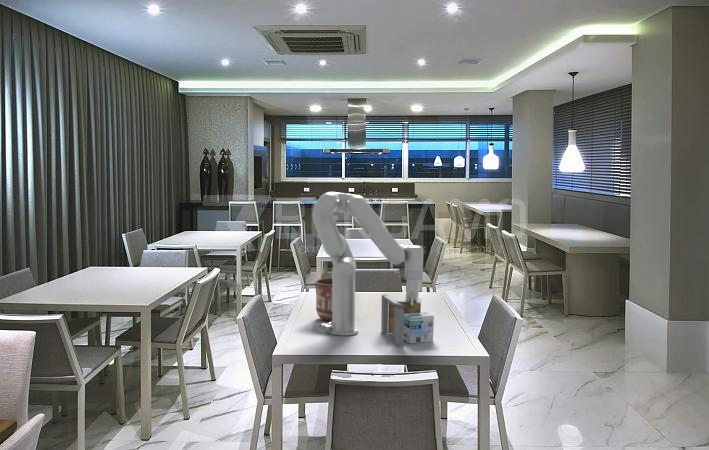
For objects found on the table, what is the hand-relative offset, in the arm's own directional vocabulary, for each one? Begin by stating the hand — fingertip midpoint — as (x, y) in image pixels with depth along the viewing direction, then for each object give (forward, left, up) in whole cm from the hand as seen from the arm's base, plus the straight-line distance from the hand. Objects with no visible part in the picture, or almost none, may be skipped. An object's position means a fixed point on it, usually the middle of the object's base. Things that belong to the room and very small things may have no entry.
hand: (412, 317), depth 257 cm
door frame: (-11, -5, -7) cm, 13 cm away
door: (-4, -2, -6) cm, 8 cm away
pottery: (-27, +32, -7) cm, 42 cm away
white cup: (+8, +23, -7) cm, 25 cm away
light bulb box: (-1, -10, -7) cm, 12 cm away
